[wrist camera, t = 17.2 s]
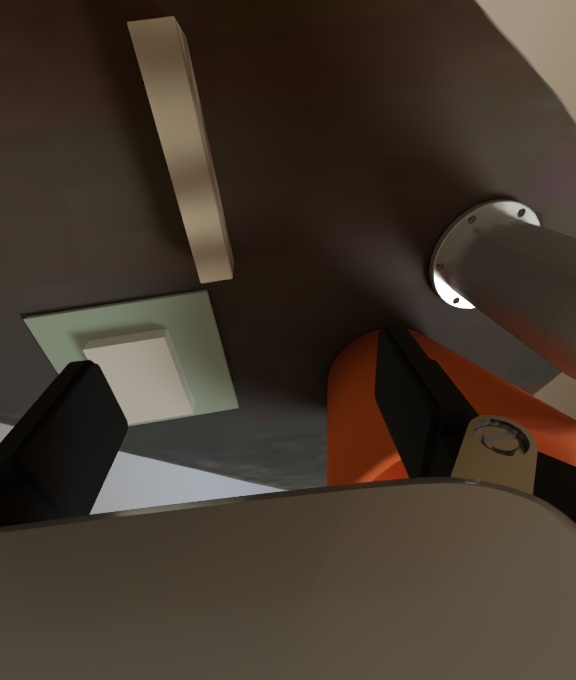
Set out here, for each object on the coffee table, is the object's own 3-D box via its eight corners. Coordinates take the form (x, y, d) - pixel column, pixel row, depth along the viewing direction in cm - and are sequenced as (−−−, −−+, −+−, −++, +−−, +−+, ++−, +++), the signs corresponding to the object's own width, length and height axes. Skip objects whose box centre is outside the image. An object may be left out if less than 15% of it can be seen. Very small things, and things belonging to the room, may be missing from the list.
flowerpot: (504, 325, 44) (662, 441, 28) (408, 446, 56) (477, 578, 39) (343, 270, 37) (425, 380, 20) (271, 421, 49) (286, 569, 32)
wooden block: (148, 42, 25) (126, 21, 21) (186, 37, 25) (173, 16, 21) (206, 263, 35) (200, 283, 30) (233, 259, 35) (232, 278, 30)
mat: (207, 289, 36) (206, 291, 36) (238, 405, 46) (238, 408, 46) (26, 316, 36) (23, 319, 35) (97, 428, 45) (95, 431, 45)
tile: (164, 337, 36) (193, 413, 42) (167, 327, 38) (195, 402, 44) (82, 349, 36) (124, 424, 42) (89, 340, 37) (129, 413, 44)
